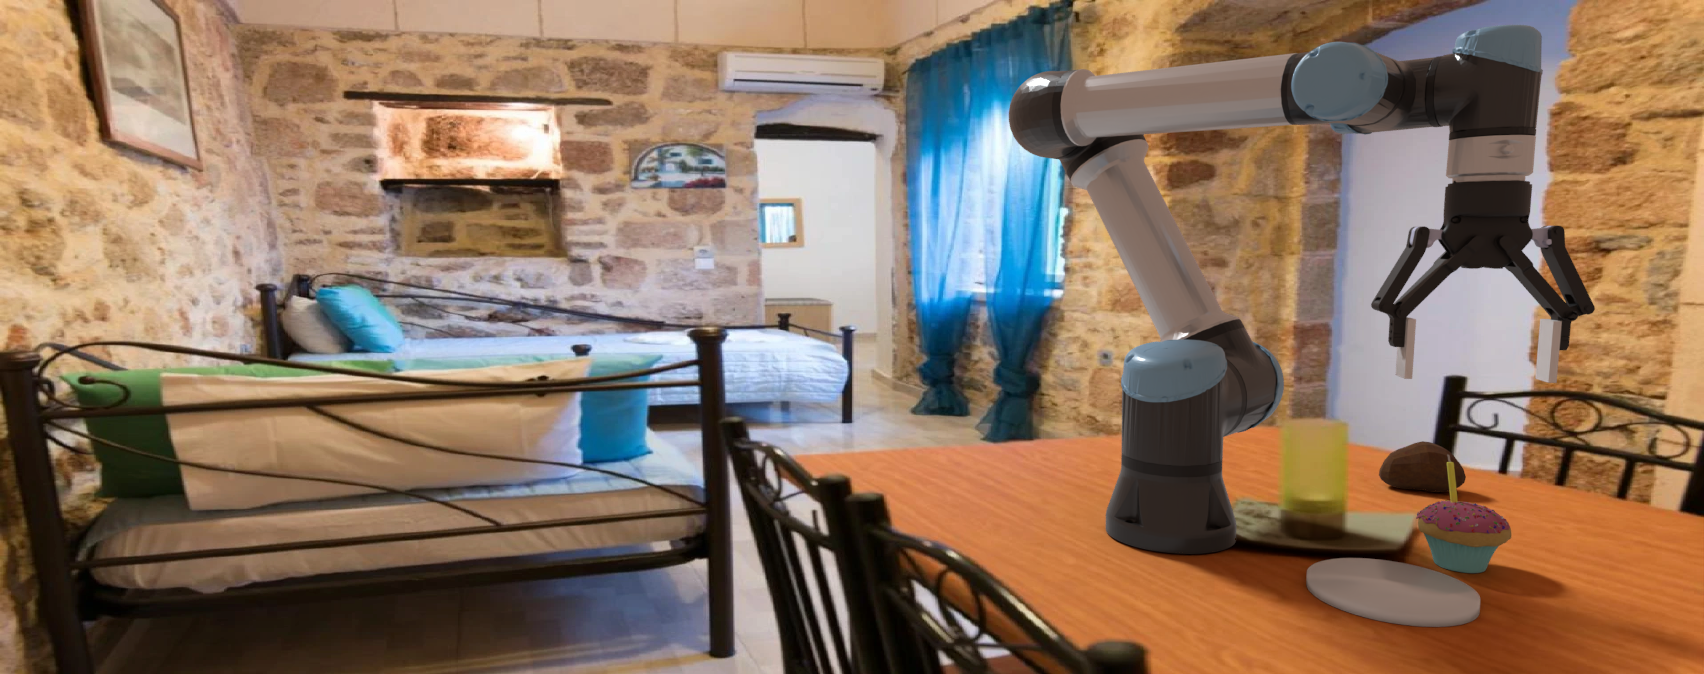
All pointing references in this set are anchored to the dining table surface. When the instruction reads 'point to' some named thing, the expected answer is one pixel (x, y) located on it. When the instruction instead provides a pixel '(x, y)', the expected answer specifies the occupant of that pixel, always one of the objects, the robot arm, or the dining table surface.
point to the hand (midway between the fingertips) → (1473, 379)
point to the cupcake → (1462, 531)
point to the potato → (1420, 468)
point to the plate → (1393, 592)
